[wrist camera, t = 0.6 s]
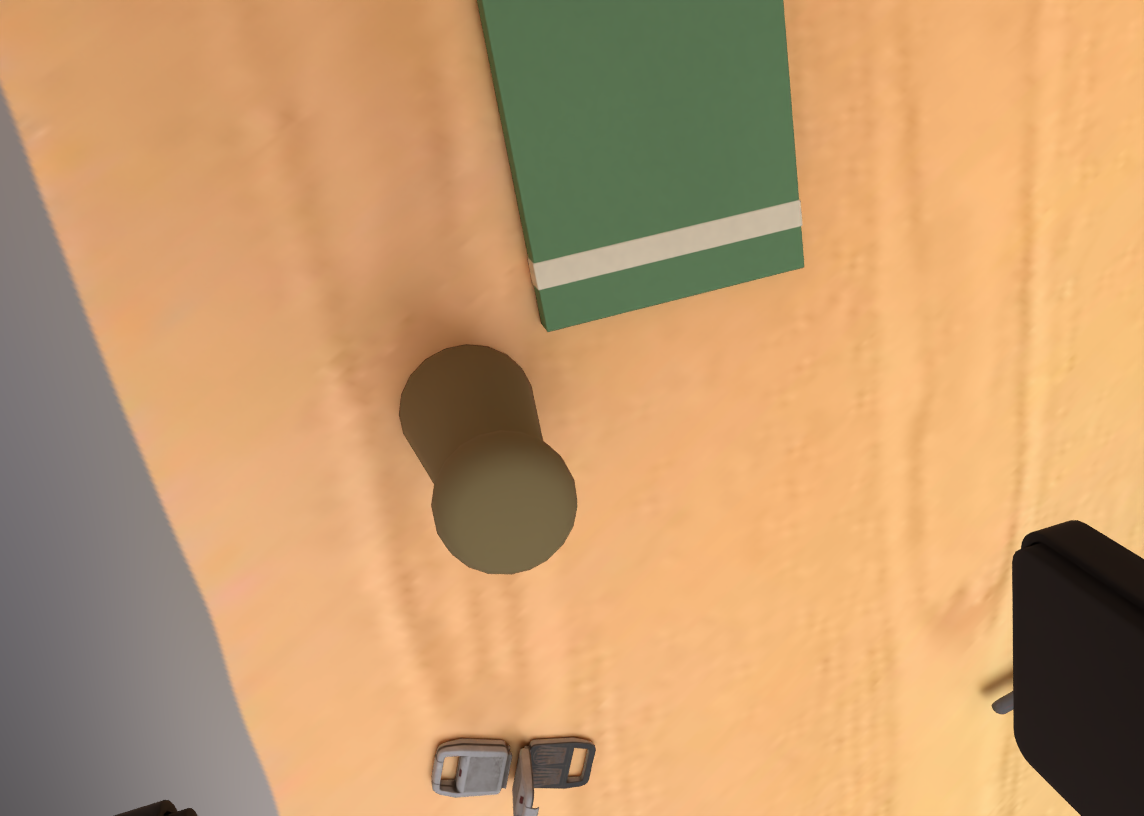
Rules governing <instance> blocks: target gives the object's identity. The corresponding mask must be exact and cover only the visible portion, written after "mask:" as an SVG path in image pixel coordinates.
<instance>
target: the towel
mask: <svg viewBox="0 0 1144 816" xmlns="http://www.w3.org/2000/svg"><path fill="white" fill-rule="evenodd" d="M477 3H478V8H479V13H480V18H481V23H482V28H483V33H484V38H485V43H486V48H487V53H488V58H489V63H490V68H491V73H492V78H493V83H494V88H495V93H496V98H497V103H498V108H499V113H500V118H501V123H502V128H503V133H504V138H505V143H506V148H507V153H508V158H509V163H510V168H511V173H512V178H513V183H514V188H515V193H516V199H517V204H518V209H519V214H520V219H521V224H522V229H523V234H524V239H525V244H526V249H527V254H528V264H529V269H530V274H531V279H532V283H533V284H534V289H535V294H536V299H537V304H538V309H539V314H540V319H541V324H542V325H543V326H544V328H545V329H546V330H547V332H550V331H554V330H558V329H562V328H566V327H570V326H574V325H578V324H582V323H586V322H590V321H594V320H598V319H602V318H606V317H610V316H614V315H618V314H621V313H625V312H629V311H633V310H637V309H641V308H645V307H649V306H653V305H657V304H661V303H665V302H669V301H673V300H677V299H681V298H685V297H689V296H693V295H697V294H701V293H705V292H709V291H713V290H717V289H721V288H725V287H729V286H733V285H737V284H740V283H744V282H748V281H752V280H756V279H760V278H764V277H768V276H772V275H776V274H780V273H784V272H788V271H792V270H796V269H800V268H803V267H804V256H803V244H802V231H801V226H802V214H801V201H800V200H799V193H798V181H797V168H796V156H795V143H794V130H793V118H792V105H791V92H790V80H789V67H788V55H787V42H786V29H785V17H784V4H783V0H477Z"/></svg>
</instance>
